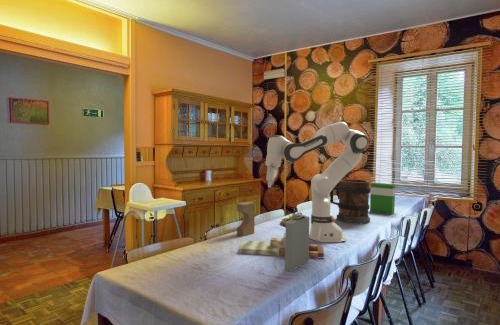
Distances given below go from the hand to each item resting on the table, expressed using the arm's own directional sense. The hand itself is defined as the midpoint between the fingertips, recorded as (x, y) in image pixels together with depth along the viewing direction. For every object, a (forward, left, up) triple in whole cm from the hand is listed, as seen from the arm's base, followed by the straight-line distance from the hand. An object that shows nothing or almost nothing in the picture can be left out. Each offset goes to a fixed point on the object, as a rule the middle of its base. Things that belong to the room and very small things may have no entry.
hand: (270, 185), depth 193 cm
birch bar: (-10, +16, -31) cm, 36 cm away
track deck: (-8, +16, -33) cm, 38 cm away
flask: (-16, +35, -33) cm, 51 cm away
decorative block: (+17, -13, -33) cm, 39 cm away
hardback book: (-85, -97, -33) cm, 133 cm away
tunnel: (-13, +16, -31) cm, 37 cm away
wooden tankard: (-54, -65, -33) cm, 91 cm away
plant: (-13, -45, -34) cm, 58 cm away
